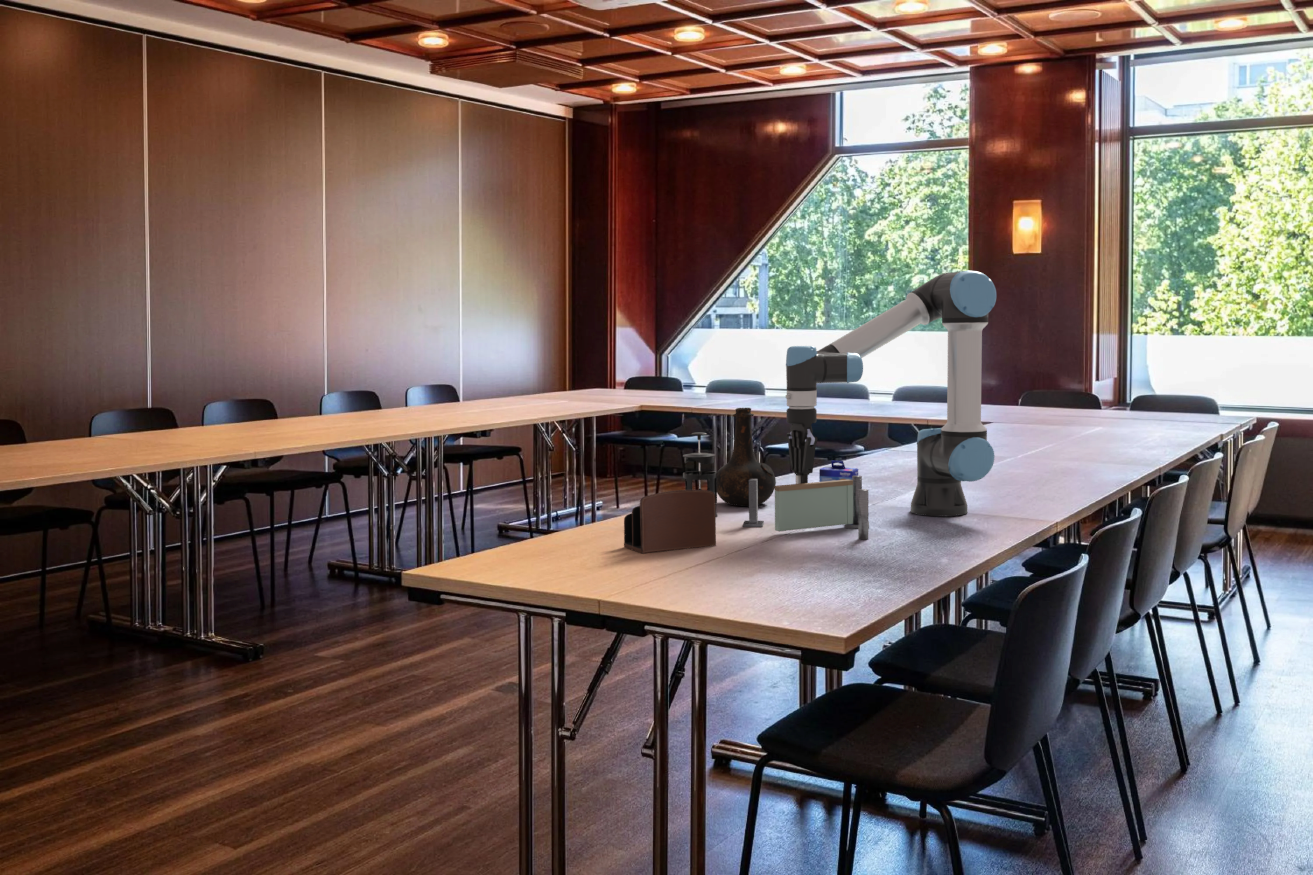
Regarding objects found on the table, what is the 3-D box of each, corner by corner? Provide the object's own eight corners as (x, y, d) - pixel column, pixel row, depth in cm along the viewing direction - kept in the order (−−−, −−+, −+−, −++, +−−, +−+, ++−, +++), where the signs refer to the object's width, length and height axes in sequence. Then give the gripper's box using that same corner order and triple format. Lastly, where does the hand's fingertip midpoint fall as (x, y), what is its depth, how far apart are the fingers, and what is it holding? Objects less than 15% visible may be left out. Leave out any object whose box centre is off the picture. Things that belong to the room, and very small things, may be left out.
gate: (848, 522, 318) (848, 479, 317) (852, 523, 316) (852, 480, 315) (775, 530, 308) (774, 485, 307) (779, 531, 306) (778, 486, 305)
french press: (701, 520, 331) (699, 435, 329) (674, 517, 337) (673, 433, 335) (728, 514, 340) (727, 431, 337) (701, 511, 346) (700, 429, 344)
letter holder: (716, 546, 294) (716, 487, 293) (642, 554, 286) (640, 494, 284) (696, 539, 303) (696, 482, 302) (623, 547, 294) (622, 489, 293)
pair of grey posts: (868, 524, 320) (868, 474, 319) (869, 539, 298) (869, 486, 297) (744, 523, 325) (744, 474, 324) (736, 538, 303) (736, 485, 302)
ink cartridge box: (818, 512, 341) (818, 460, 339) (824, 509, 346) (824, 458, 344) (853, 514, 336) (853, 461, 335) (859, 511, 341) (859, 459, 340)
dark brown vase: (760, 510, 346) (759, 410, 343) (703, 506, 355) (702, 409, 352) (786, 501, 362) (785, 406, 359) (731, 498, 370) (730, 405, 368)
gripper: (776, 406, 316) (777, 497, 318) (799, 409, 304) (800, 504, 306) (803, 405, 319) (803, 495, 321) (827, 408, 307) (827, 502, 309)
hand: (801, 500), depth 314 cm, fingers closed
